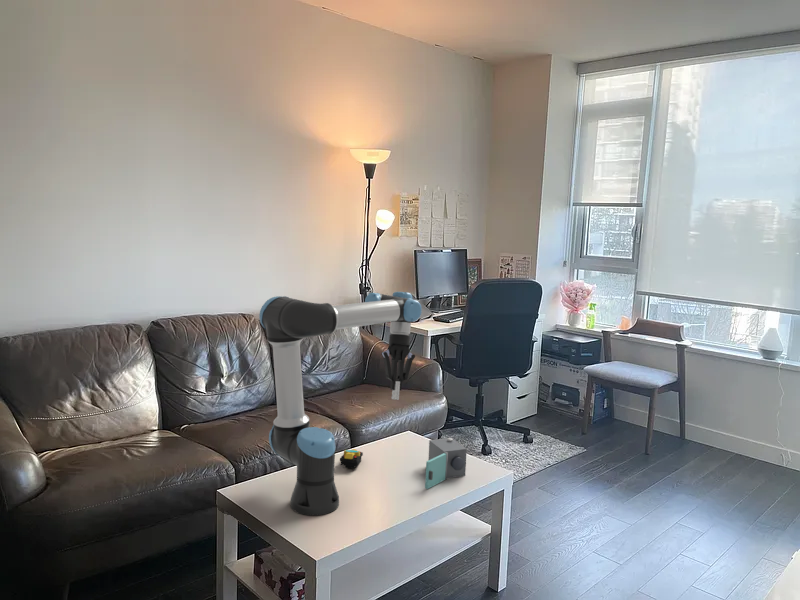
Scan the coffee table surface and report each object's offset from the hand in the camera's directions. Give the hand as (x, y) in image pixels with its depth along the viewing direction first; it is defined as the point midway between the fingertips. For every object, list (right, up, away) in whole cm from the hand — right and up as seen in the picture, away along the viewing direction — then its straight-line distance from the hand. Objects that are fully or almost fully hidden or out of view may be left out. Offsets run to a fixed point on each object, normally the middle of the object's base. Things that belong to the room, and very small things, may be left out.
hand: (395, 399), depth 220 cm
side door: (+15, -28, -10) cm, 33 cm away
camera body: (+19, -27, +3) cm, 33 cm away
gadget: (-16, -25, +5) cm, 30 cm away
